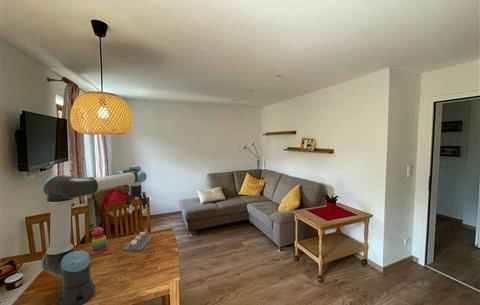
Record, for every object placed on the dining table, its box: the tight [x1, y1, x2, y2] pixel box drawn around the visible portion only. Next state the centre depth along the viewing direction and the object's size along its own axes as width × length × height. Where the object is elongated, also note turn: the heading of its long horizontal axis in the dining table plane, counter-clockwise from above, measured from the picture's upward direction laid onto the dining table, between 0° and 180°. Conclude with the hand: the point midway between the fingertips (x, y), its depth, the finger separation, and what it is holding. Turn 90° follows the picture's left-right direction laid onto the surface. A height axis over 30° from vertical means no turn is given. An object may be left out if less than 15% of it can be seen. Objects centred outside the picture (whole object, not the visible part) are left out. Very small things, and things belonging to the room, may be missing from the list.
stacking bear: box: [89, 226, 108, 256], centre depth 155 cm, size 11×10×18 cm
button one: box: [130, 239, 137, 246], centre depth 158 cm, size 4×4×3 cm
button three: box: [139, 231, 146, 238], centre depth 171 cm, size 4×4×3 cm
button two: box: [135, 235, 141, 242], centre depth 164 cm, size 4×4×3 cm
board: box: [122, 234, 154, 252], centre depth 165 cm, size 20×14×3 cm
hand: (137, 212), depth 163 cm, fingers open, 9 cm apart
